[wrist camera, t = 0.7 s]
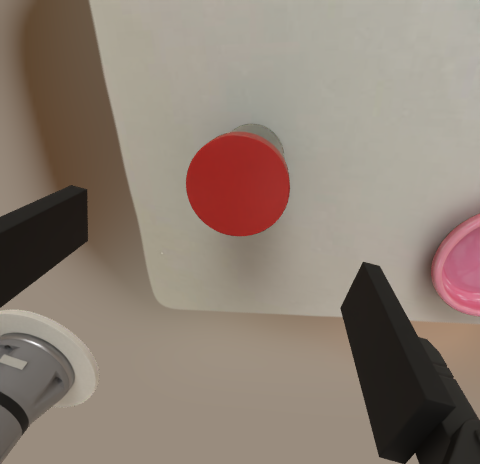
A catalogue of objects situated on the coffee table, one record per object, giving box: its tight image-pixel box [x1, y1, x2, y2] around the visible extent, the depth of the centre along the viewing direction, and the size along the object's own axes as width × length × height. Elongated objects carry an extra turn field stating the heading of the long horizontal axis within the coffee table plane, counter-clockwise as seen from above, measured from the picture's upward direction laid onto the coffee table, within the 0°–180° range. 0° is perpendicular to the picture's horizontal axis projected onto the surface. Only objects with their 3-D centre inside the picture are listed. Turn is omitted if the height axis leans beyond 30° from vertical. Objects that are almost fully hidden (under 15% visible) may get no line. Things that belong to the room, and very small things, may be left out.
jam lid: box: [186, 132, 290, 236], centre depth 22 cm, size 7×7×2 cm
